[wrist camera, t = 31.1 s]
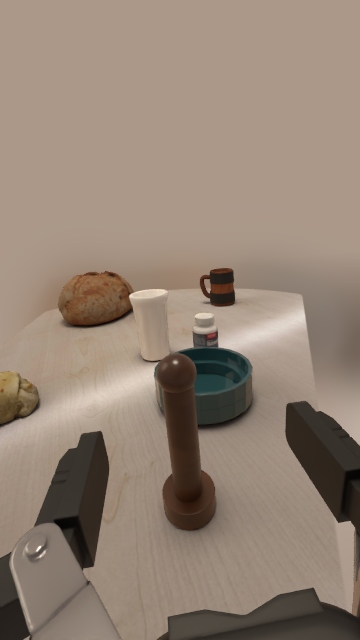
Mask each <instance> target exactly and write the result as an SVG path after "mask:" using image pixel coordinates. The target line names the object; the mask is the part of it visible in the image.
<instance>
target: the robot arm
mask: <svg viewBox="0 0 360 640" xmlns="http://www.w3.org/2000/svg"><path fill="white" fill-rule="evenodd" d="M285 432H286V439H287V442H288V444H289V446H290V448H291V450H292V451H293V453H294V454H295V456H296V457H297V459H298V461H299V462H300V464H301V465H302V467H303V468H304V470H305V471H306V473H307V475H308V476H309V478H310V479H311V481H312V482H313V484H314V485H315V487H316V489H317V490H318V492H319V493H320V495H321V496H322V498H323V499H324V501H325V503H326V504H327V506H328V507H329V509H330V510H331V512H332V513H333V515H334V517H335V518H336V520H337V521H338V523H340V522H345V521H351V522H352V524H353V525H354V527H355V533H354V592H353V605H352V614H351V613H349V612H347V611H346V610H344V609H341V608H339V607H337V606H334V605H331V604H328V603H324V602H320V601H319V598H318V596H317V594H316V592H315V590H314V588H310V589H305V590H300V591H295V592H290V593H285V594H280V595H278V596H276V597H274V598H273V599H271V600H270V601H268V602H266V603H265V604H263V605H262V606H260V607H258V608H257V609H255V610H254V611H252V612H250V613H249V614H247V615H238V614H231V613H224V612H218V611H211V610H200V611H195V612H190V613H185V614H180V615H175V616H170V617H168V632H167V633H165V634H164V635H162V636H161V637H159V638H158V639H157V640H360V446H359V445H358V444H357V443H356V441H355V440H353V438H352V437H350V436H349V434H348V433H347V432H346V431H345V430H344V429H342V427H341V426H340V425H339V424H338V423H337V422H336V421H335V420H334V419H333V418H332V417H330V416H328V415H327V414H325V413H323V412H321V411H318V412H316V411H315V410H314V409H313V408H312V407H311V405H310V404H309V403H308V402H306V401H301V402H294V403H288V404H287V407H286V431H285ZM108 476H109V461H108V456H107V452H106V447H105V443H104V439H103V435H102V432H101V431H97V432H90V433H83V434H82V435H81V437H80V440H79V443H78V446H77V448H73V449H69V450H68V451H67V452H66V453H65V455H64V456H63V457H62V458H61V459H60V461H59V464H58V466H57V469H56V471H55V475H54V477H53V479H52V482H51V485H50V487H49V490H48V492H47V495H46V497H45V500H44V502H43V505H42V508H41V510H40V513H39V515H38V518H37V521H36V523H35V526H34V528H32V529H31V530H29V531H28V532H27V533H25V534H24V535H23V536H22V537H21V538H20V540H19V541H18V542H17V544H16V545H15V547H14V549H13V550H12V552H10V553H9V554H7V555H5V556H3V557H1V558H0V640H23V639H25V638H26V637H28V636H30V638H29V640H122V639H121V637H120V635H119V633H118V631H117V629H116V627H115V625H114V624H113V622H112V620H111V618H110V616H109V614H108V612H107V610H106V609H105V607H104V605H103V603H102V601H101V599H100V597H99V595H98V594H97V592H96V590H95V588H94V586H93V585H92V583H91V582H90V581H89V582H88V580H87V578H86V577H85V575H84V573H83V568H88V567H94V562H95V556H96V549H97V543H98V537H99V531H100V525H101V519H102V513H103V507H104V501H105V495H106V489H107V483H108Z"/></svg>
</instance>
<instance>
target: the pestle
mask: <svg viewBox="0 0 360 640" xmlns="http://www.w3.org/2000/svg"><path fill="white" fill-rule="evenodd" d="M156 376H157V381H158V383H159V385H160V386H161V388H162V395H163V403H164V411H165V419H166V427H167V435H168V443H169V451H170V459H171V467H172V474H171V475H170V476H169V477H168V478H167V480H166V482H165V484H164V486H163V501H164V508H165V513H166V515H167V517H168V519H169V520H170V522H171V523H172V524H174V525H175V526H176V527H178V528H181V529H185V530H194V529H198V528H201V527H202V526H204V525H205V524H207V523H208V522H209V521H210V519H211V518H212V516H213V514H214V512H215V508H216V500H215V487H214V483H213V481H212V479H211V478H210V476H209V475H208V474H207V473H205V472H204V471H202V470H201V463H200V450H199V438H198V426H197V414H196V401H195V389H194V383H195V381H196V377H197V371H196V367H195V365H194V363H193V361H192V360H191V359H190V358H189V357H187V356H186V355H183V354H179V353H174V354H170V355H168V356H166V357H164V358H163V359H162V360H161V361H160V363H159V365H158V367H157V372H156Z"/></svg>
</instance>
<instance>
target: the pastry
mask: <svg viewBox="0 0 360 640" xmlns="http://www.w3.org/2000/svg"><path fill="white" fill-rule="evenodd" d="M38 401H39V395H38V390H37V388H36V387H35V386H34V385H33V384H32V383H30V382H28V381H27V380H26V379H22V378H21V376H20V375H19V373H17V372H10V371H8V372H0V424H3V423H6V422H9V421H11V420H13V419H15V418H17V417H18V416H20V417H24V416H26V415H29V414H30V413H31V412H32V411H33V409H34V408H35V406H36V404H37V403H38Z"/></svg>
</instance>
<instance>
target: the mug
mask: <svg viewBox="0 0 360 640" xmlns="http://www.w3.org/2000/svg"><path fill="white" fill-rule="evenodd" d="M204 279H210V283H211V291H210V294H209V293H208V292H207V290H206V288H205V285H204ZM233 282H234V277H233V270H232V269H229V268H221V269H214V270H211V271H210V275H204V276H202V277H201V279H200V286H201V289H202V292H203V294H204V295H205V296H206V297H207V298H210V302H211V303H212V305H215V306H228V305H231V304H233V303H234V301H235V292H234V288H233Z"/></svg>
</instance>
